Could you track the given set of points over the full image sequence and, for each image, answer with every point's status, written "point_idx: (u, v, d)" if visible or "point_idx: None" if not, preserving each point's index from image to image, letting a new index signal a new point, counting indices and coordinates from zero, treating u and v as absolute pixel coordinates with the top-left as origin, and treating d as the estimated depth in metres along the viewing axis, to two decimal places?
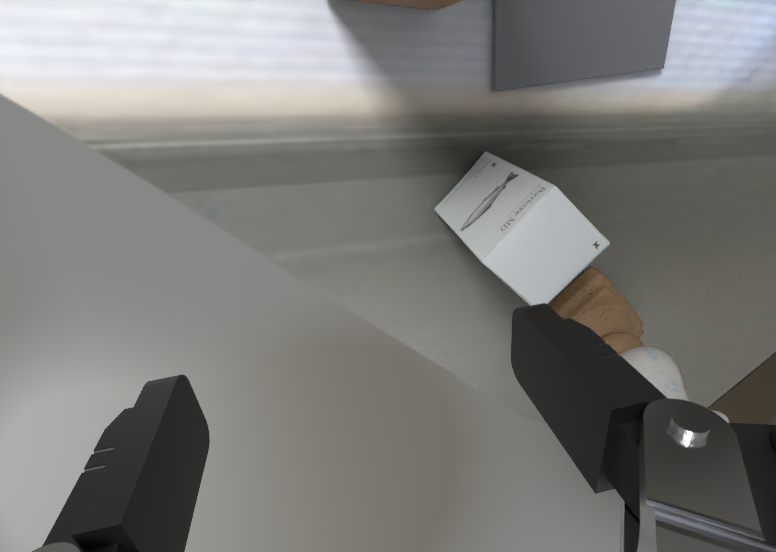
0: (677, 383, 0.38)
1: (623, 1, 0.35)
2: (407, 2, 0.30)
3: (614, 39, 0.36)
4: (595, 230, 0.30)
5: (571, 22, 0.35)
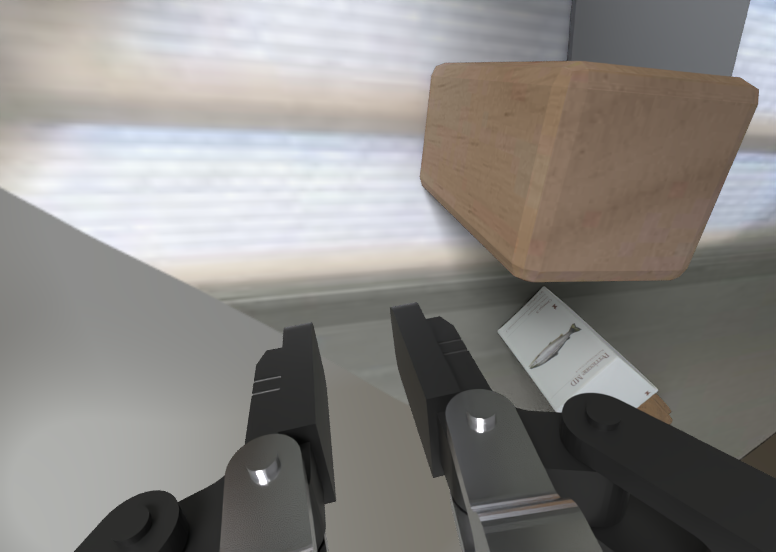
0: None
1: None
2: None
3: None
4: (647, 383, 0.37)
5: None
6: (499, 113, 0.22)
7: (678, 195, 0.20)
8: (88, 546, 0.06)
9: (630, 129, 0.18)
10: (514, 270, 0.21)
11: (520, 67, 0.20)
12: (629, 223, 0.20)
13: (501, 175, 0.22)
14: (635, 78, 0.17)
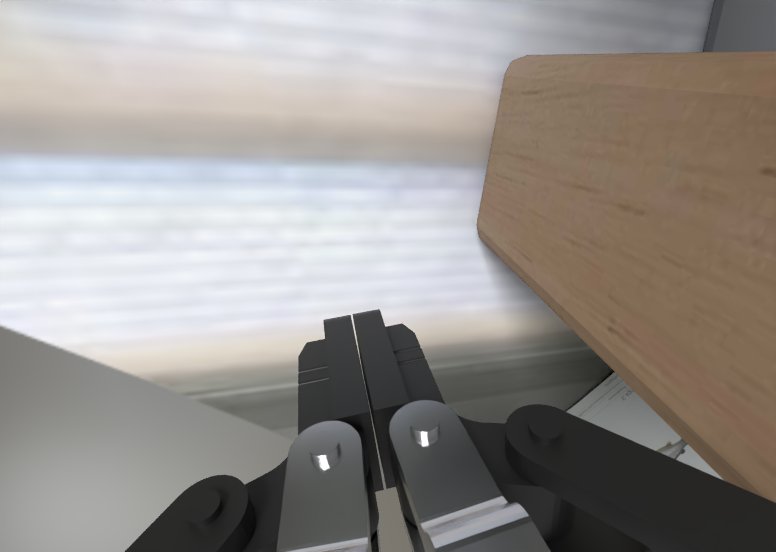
0: None
1: None
2: None
3: None
4: None
5: None
6: (737, 165, 0.10)
7: None
8: (164, 521, 0.06)
9: None
10: None
11: None
12: None
13: (740, 302, 0.10)
14: None
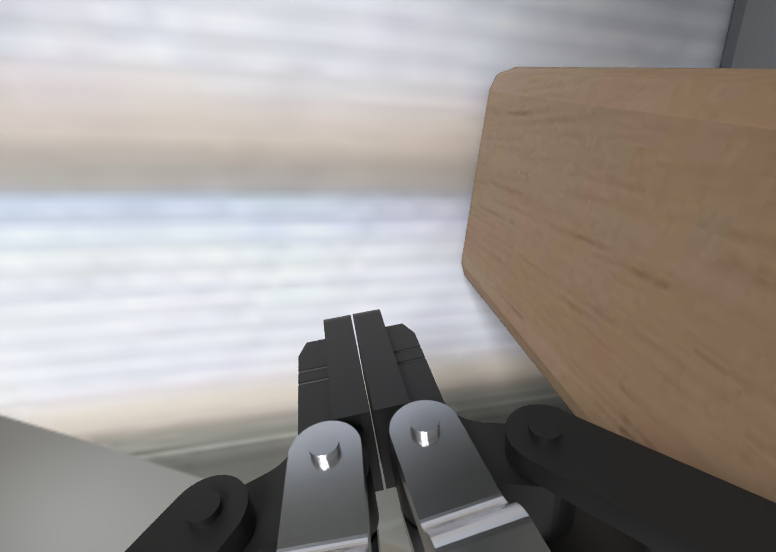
0: None
1: None
2: None
3: None
4: None
5: None
6: None
7: None
8: (164, 521, 0.06)
9: None
10: None
11: None
12: None
13: None
14: None
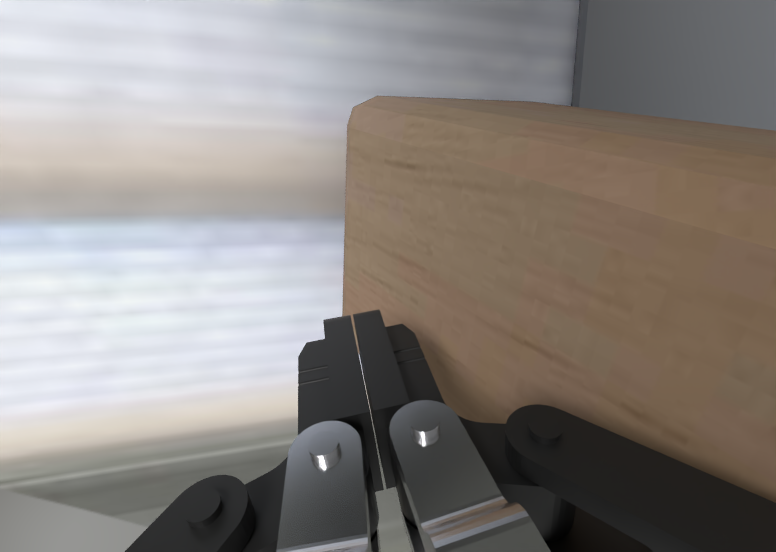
0: None
1: None
2: None
3: None
4: None
5: None
6: None
7: None
8: (164, 521, 0.06)
9: None
10: None
11: None
12: None
13: None
14: None
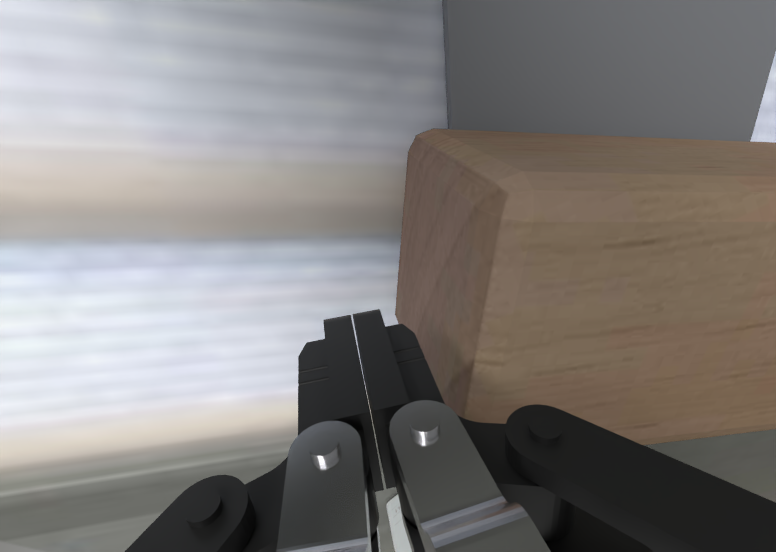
0: None
1: None
2: None
3: None
4: None
5: None
6: None
7: None
8: (164, 521, 0.06)
9: None
10: None
11: None
12: None
13: None
14: None
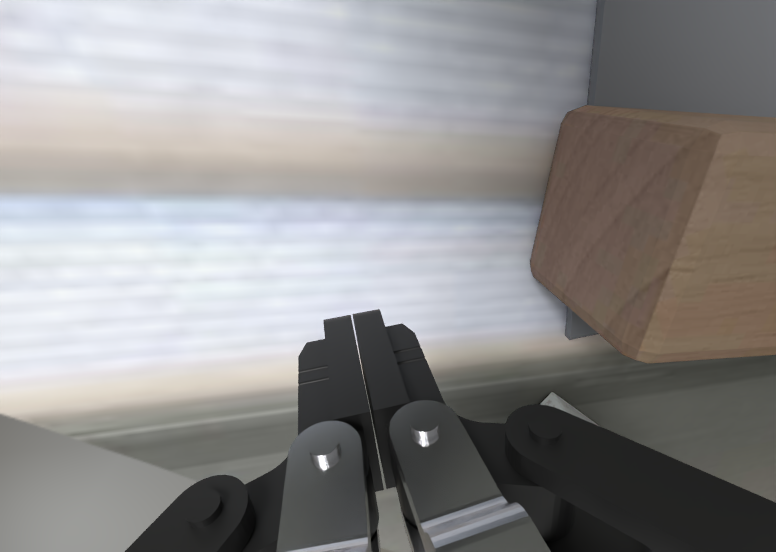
0: None
1: None
2: None
3: None
4: None
5: None
6: None
7: None
8: (164, 521, 0.06)
9: None
10: None
11: None
12: None
13: None
14: None
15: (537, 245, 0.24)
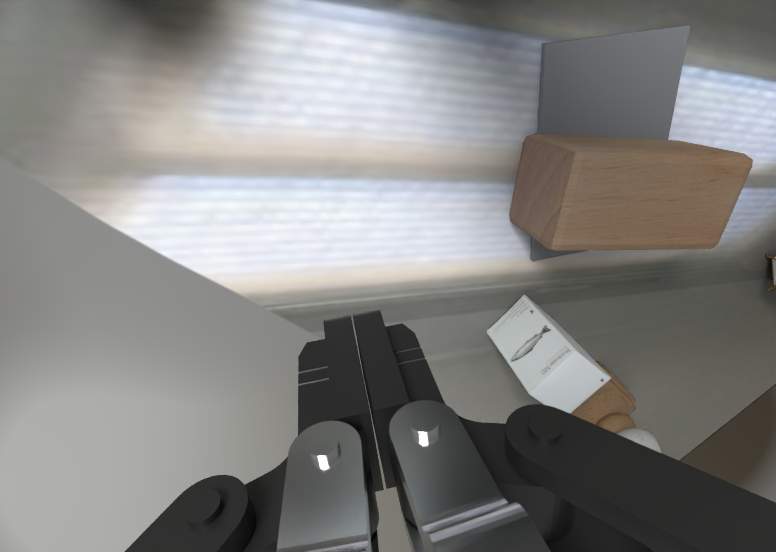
0: None
1: None
2: None
3: None
4: (601, 372, 0.47)
5: None
6: (704, 180, 0.40)
7: None
8: (164, 521, 0.06)
9: None
10: (713, 246, 0.44)
11: (717, 157, 0.40)
12: None
13: (705, 209, 0.42)
14: None
15: (512, 204, 0.47)
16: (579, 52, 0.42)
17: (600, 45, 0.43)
